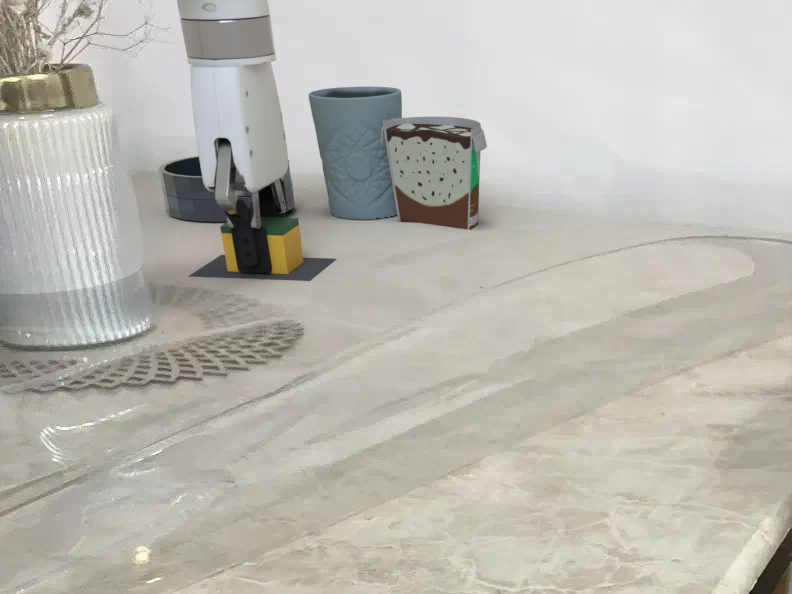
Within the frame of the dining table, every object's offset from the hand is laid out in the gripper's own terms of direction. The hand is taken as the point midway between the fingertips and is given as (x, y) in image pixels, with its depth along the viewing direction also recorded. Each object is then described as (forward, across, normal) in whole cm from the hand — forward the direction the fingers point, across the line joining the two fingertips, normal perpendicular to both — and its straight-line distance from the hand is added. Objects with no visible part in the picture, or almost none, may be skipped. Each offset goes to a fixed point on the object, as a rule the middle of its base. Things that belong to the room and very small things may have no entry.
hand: (265, 262), depth 109 cm
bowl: (+1, -24, -13) cm, 27 cm away
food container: (+1, -22, +13) cm, 25 cm away
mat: (+1, 0, 0) cm, 1 cm away
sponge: (0, 0, 0) cm, 0 cm away
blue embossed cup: (+1, -27, +2) cm, 27 cm away
